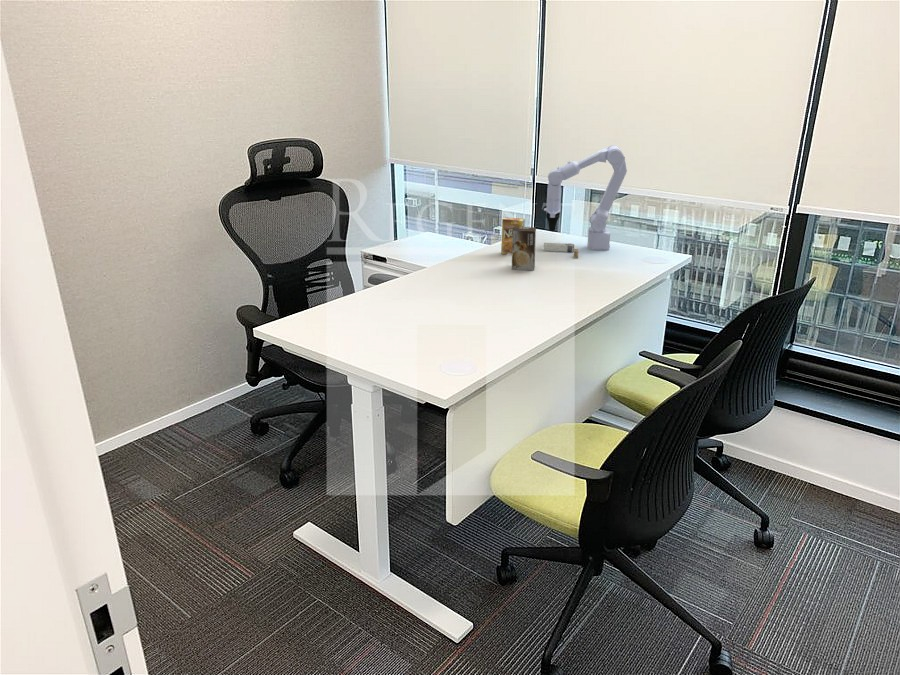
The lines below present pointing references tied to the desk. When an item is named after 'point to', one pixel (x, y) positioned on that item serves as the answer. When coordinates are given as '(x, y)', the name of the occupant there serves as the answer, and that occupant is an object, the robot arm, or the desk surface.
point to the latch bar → (559, 247)
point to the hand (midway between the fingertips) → (552, 230)
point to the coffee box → (523, 248)
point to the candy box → (509, 232)
